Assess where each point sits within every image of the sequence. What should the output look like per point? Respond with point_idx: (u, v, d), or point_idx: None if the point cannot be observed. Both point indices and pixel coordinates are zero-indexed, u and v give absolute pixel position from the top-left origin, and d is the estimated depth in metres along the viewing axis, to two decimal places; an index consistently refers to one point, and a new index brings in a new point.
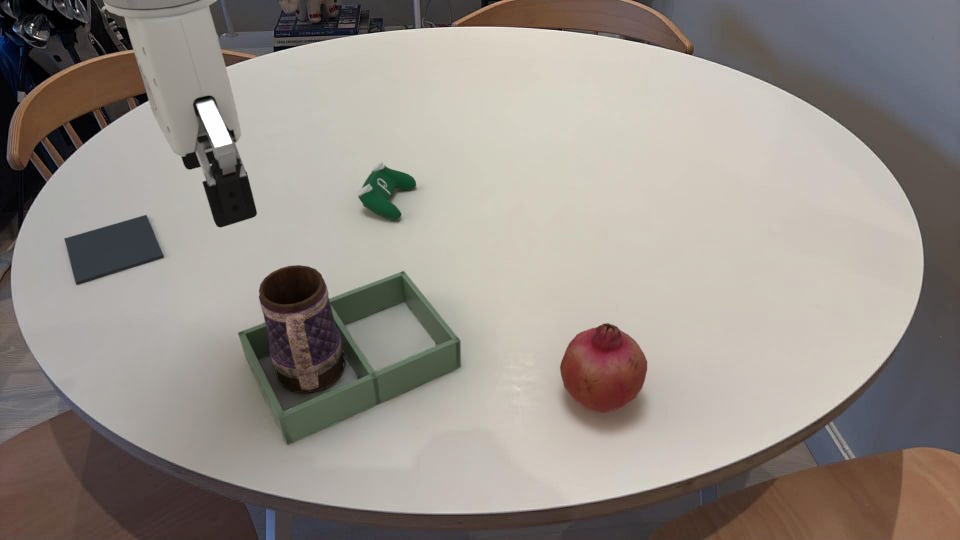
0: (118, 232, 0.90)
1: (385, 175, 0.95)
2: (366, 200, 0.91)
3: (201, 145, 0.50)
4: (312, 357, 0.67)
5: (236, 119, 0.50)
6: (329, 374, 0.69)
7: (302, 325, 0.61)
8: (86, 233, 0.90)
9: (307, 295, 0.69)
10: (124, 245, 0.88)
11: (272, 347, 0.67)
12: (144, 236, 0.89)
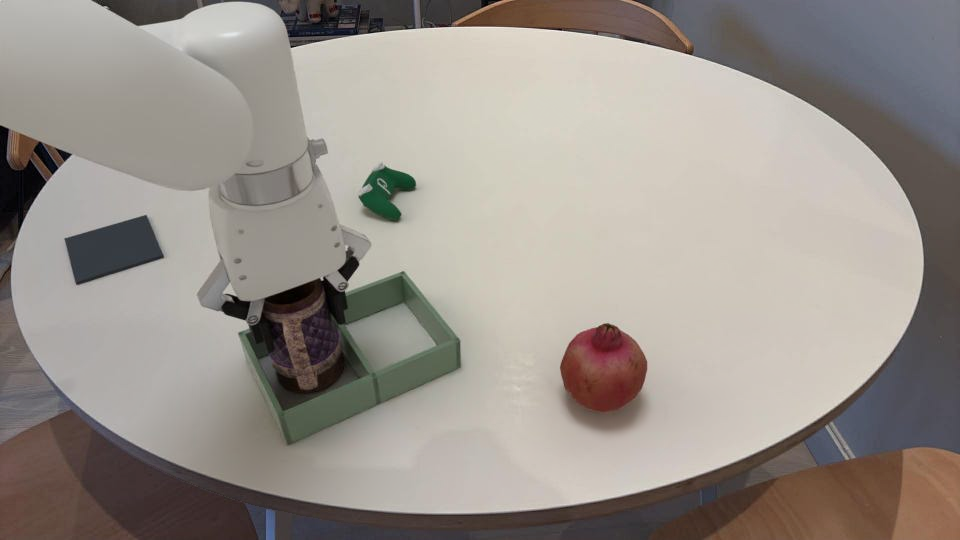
0: (118, 232, 0.90)
1: (385, 175, 0.95)
2: (366, 200, 0.91)
3: None
4: (311, 357, 0.67)
5: (236, 287, 0.58)
6: (328, 373, 0.69)
7: (299, 325, 0.61)
8: (86, 233, 0.90)
9: (304, 294, 0.69)
10: (124, 245, 0.88)
11: None
12: (144, 236, 0.89)
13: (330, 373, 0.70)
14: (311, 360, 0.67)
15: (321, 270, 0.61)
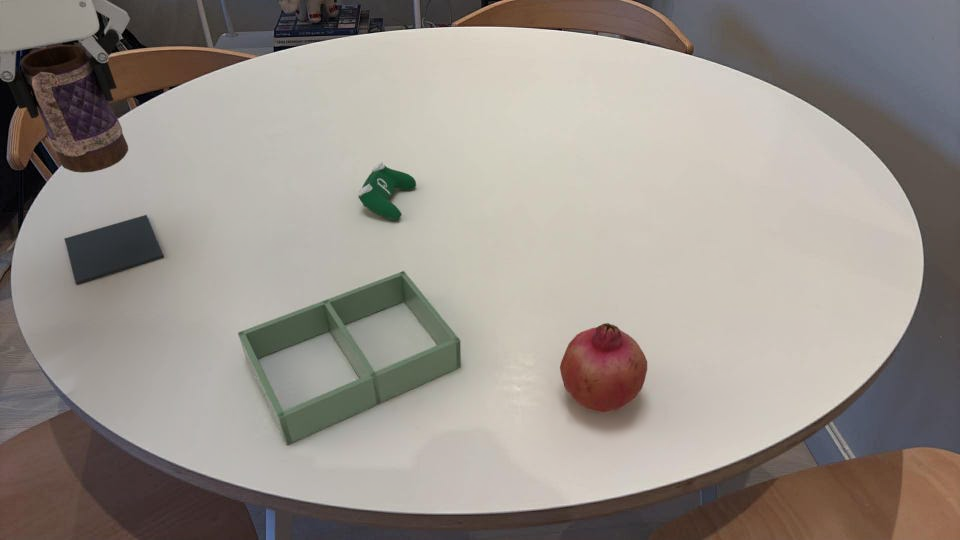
0: (118, 232, 0.90)
1: (385, 175, 0.95)
2: (366, 200, 0.91)
3: None
4: (80, 130, 0.72)
5: None
6: (104, 153, 0.74)
7: (47, 78, 0.65)
8: (86, 233, 0.90)
9: None
10: (124, 245, 0.88)
11: (44, 122, 0.72)
12: (144, 236, 0.89)
13: (106, 154, 0.74)
14: (81, 134, 0.72)
15: (70, 30, 0.66)
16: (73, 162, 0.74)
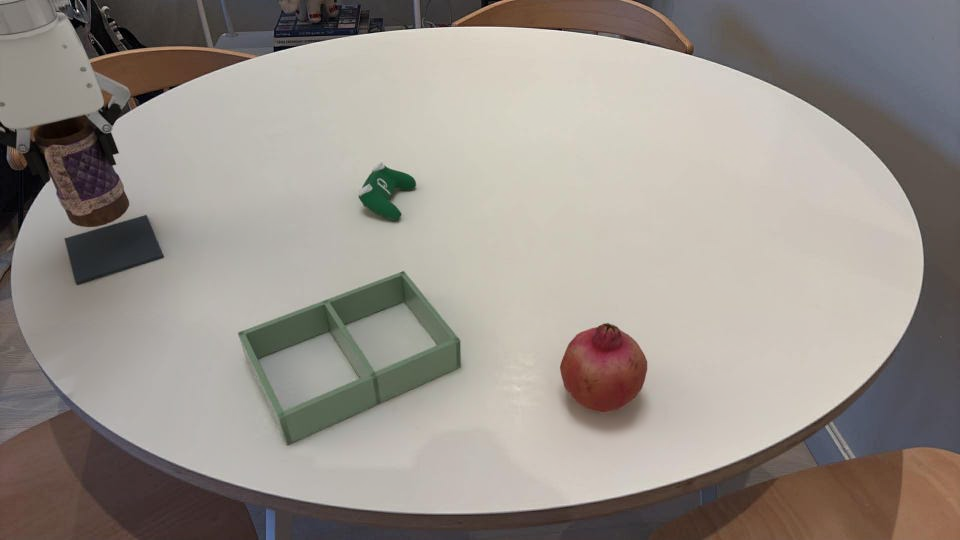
0: (118, 232, 0.90)
1: (385, 175, 0.95)
2: (366, 200, 0.91)
3: None
4: (86, 191, 0.80)
5: None
6: (107, 210, 0.83)
7: (58, 151, 0.74)
8: (86, 233, 0.90)
9: None
10: (124, 245, 0.88)
11: (54, 184, 0.81)
12: (144, 236, 0.89)
13: (109, 210, 0.83)
14: (87, 194, 0.81)
15: (78, 107, 0.75)
16: (80, 218, 0.82)
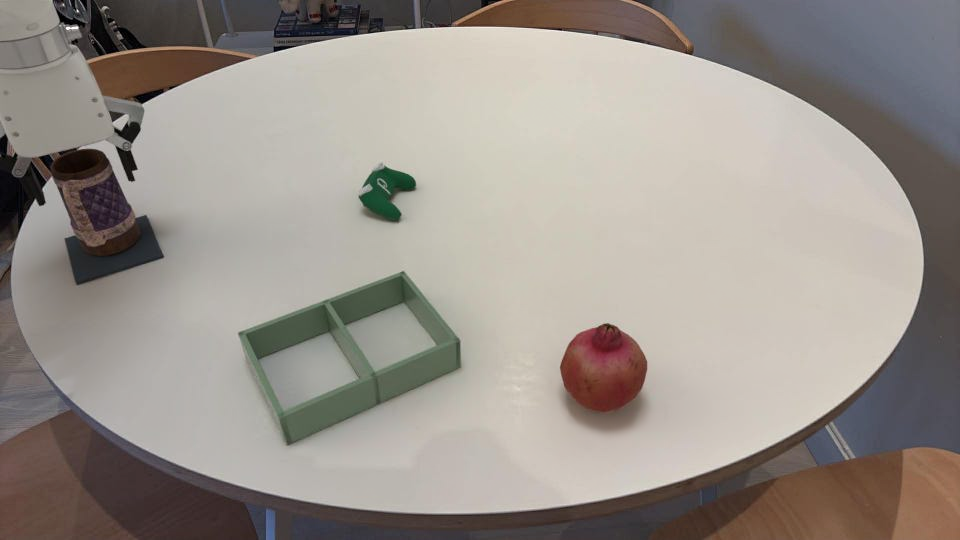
0: None
1: (385, 175, 0.95)
2: (366, 200, 0.91)
3: None
4: (100, 222, 0.83)
5: (12, 143, 0.73)
6: (120, 240, 0.86)
7: (75, 186, 0.77)
8: None
9: None
10: None
11: (69, 215, 0.83)
12: (144, 236, 0.89)
13: (122, 240, 0.86)
14: (101, 225, 0.83)
15: (89, 136, 0.77)
16: (93, 248, 0.85)
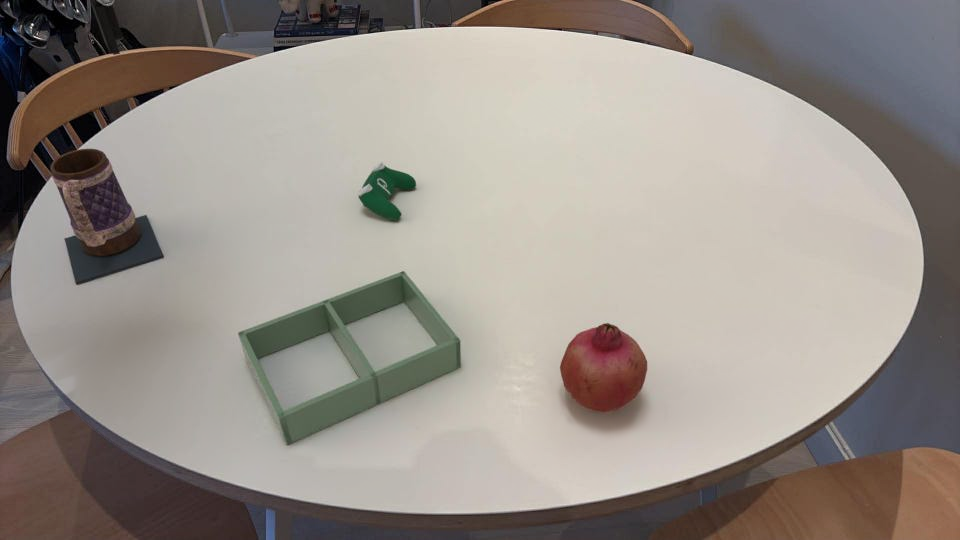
0: None
1: (385, 175, 0.95)
2: (366, 200, 0.91)
3: None
4: (100, 222, 0.83)
5: None
6: (120, 240, 0.86)
7: (75, 186, 0.77)
8: None
9: None
10: None
11: (69, 215, 0.83)
12: (144, 236, 0.89)
13: (122, 240, 0.86)
14: (101, 225, 0.83)
15: None
16: (93, 248, 0.85)
